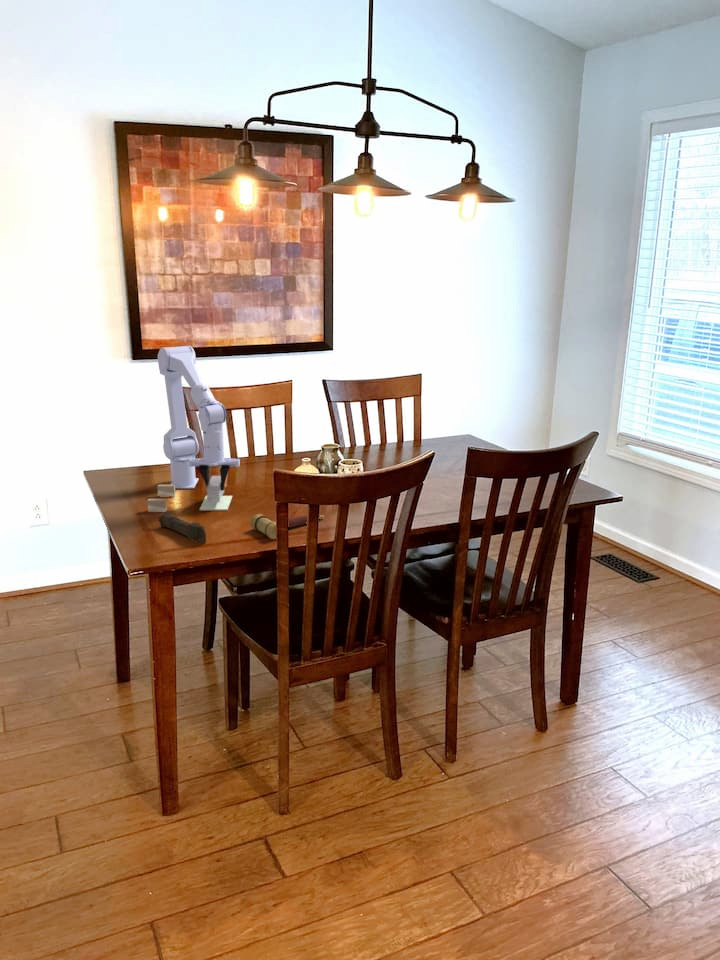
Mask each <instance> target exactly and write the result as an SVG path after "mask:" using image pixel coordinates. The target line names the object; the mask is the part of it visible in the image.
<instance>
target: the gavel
mask: <svg viewBox="0 0 720 960" xmlns="http://www.w3.org/2000/svg"><path fill="white" fill-rule="evenodd" d="M307 515H308V514H306V515H302V516H301V515H300V516H296V517H290V518H288V519H289V528H288V529H290V528H295V527H300V526H305V525H307V524H306V522H307ZM324 518H325V516H324V515H321V514H320V520H319V521H321V520H322V519H324ZM304 524H305V525H304ZM250 527H251V528H252V529H253V530H255V532H256V531H257V532H260V533H262V534H264V535H265V536H267V538H269V539H270V540H272V539H274V538H275V539H276V521H273V520H270V519H269V518H268V517H267V516H266V515H263V514H262V513H257V514H255V515H254V516H253V517H252V518H251V521H250ZM276 540H277V539H276Z"/></svg>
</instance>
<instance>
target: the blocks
mask: <svg viewBox="0 0 720 960" xmlns="http://www.w3.org/2000/svg"><path fill="white" fill-rule="evenodd" d="M175 495H176V488H175V485H170V484H158V485H157V497H158V496H160V497H159V498H148V499H147V501H146V502H147V512H148V513H160V512H161V513H167V511H168V510H167V509H168V507H167V499H166V498H162V497H161V496H172V497H171V498H175V497H176V496H177V495H176V496H175ZM166 510H167V511H166Z"/></svg>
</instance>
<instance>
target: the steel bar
mask: <svg viewBox="0 0 720 960" xmlns="http://www.w3.org/2000/svg"><path fill="white" fill-rule="evenodd" d="M224 494H225V490H224V491H221V475H211V477H210V481H209V483H208V485H207V487H206V496H207V501H208V502H220V500H221V498H222V496H224Z"/></svg>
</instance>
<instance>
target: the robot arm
mask: <svg viewBox="0 0 720 960" xmlns="http://www.w3.org/2000/svg"><path fill="white" fill-rule="evenodd" d="M196 360H197V357H196V352H195V350H194V348H193V347H192V346H191V345H190V344H189V345H184V346H183V345H182V346H171V347H161V348H159V351H158V354H157V363H158V364H157V365H158V370H159V374H160V375H162V376H164V383H165V384H164V385H165V390H166V398H167V404H168V405H167V406H168V412H169V413H168V414H169V421H170V427H171V428H170V429H169V430H167V432H166V433H165V434H164V435H163V446H162V448H163V454H164V456H165V457H166V458H167V459H168V460H170V461H169V462H170V476H171V479H170V480H171V482H170V484H169V485H175V489H194V488H195V487H196V485H197V483H198V482H199V478H198V477H196V467H198V472H199V474H200V475H201V477H202V479H203V481H204V483H205V487H206V488H207V485H208V483H209V481H210V479H211V477H210V473H211V472H210V470H211V469H210V467H220V469H219V474H220V475H219V476H221V491H224V492H225V486H226V485H225V484H226V479H227V477H228V473H229V470H230V468H231V467H235V468H240V464H241V463H240V461H241V460H240V458H229V457H225V451H224V450H225V447H224V423H225V422H226V420H227V409H226V407H225V406H224V404H223V403H221V402H220V401H219V400H216V398H215V396H214V395H213V393H212V390H211V389H210V387H209V386H208V384H205V383H203V381H202V379H201V376H200V375H199V372H198V370H197V366H196ZM182 377H183V378H184V380H185V381H186V383H187V384H188V386H189V388H190V396H191V399H192V401H193V402H194V405H195V406H196V408H197V410H198V413H197V415H198V417H197V418H198V420H199V422H200V423H199V424H200V429H201V431H202V438H203V439H202V440H203V456H204V457H200V458H199V457H197V458H196V455H197V454H199V451H200V445H199V441H198V439H197V433H196V432H195V431H194V430H192V429H191V428H190V427H188V420H187V413H186V405H185V397H184V390H183V381H182Z"/></svg>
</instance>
